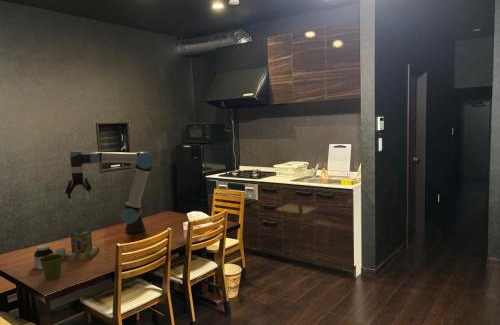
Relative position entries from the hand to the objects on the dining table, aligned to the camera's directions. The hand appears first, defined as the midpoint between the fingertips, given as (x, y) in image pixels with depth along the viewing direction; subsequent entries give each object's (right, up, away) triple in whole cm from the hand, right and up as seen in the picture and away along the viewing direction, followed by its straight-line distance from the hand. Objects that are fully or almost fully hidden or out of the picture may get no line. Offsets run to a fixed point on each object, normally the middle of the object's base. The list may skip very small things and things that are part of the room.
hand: (79, 201), depth 276 cm
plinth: (+17, -32, -33) cm, 49 cm away
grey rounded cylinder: (+5, -33, -38) cm, 50 cm away
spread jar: (+1, -34, -50) cm, 61 cm away
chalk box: (+17, -29, -33) cm, 47 cm away
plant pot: (+16, -35, -68) cm, 78 cm away
